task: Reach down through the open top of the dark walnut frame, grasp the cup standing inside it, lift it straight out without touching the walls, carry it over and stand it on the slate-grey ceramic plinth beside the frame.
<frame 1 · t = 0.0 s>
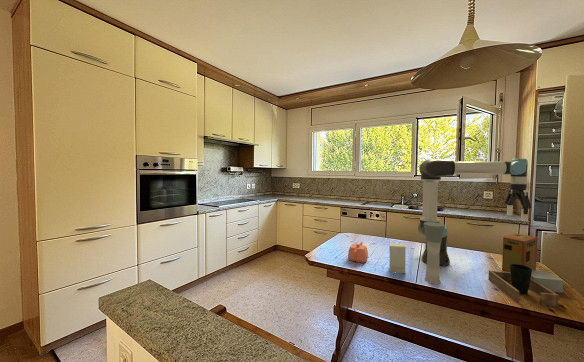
hand: (516, 217, 150), 28 cm above the table, fingers open, 13 cm apart
box: (518, 272, 136), on the table
container: (432, 280, 126), on the table
slate plinth: (539, 285, 120), on the table
walnut frame: (519, 291, 114), on the table
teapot: (358, 260, 155), on the table
cup: (519, 292, 114), resting in walnut frame
skincare box: (397, 271, 137), on the table
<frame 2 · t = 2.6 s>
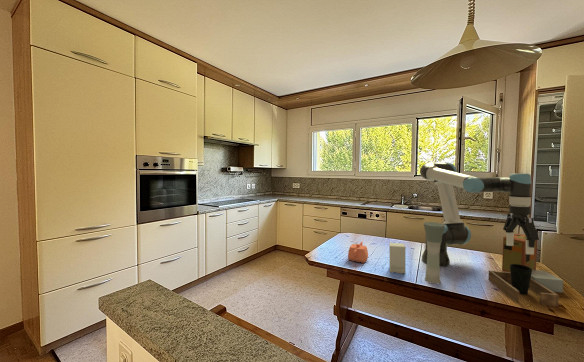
hand: (519, 249, 115), 20 cm above the table, fingers open, 13 cm apart
nothing on the table moved.
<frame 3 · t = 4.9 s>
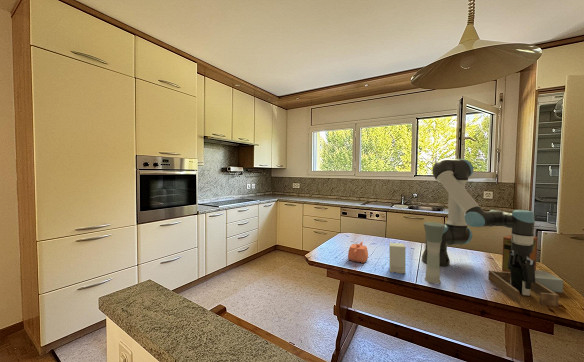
hand: (519, 290, 114), 1 cm above the table, fingers closed on cup, 8 cm apart
cup: (519, 292, 114), resting in walnut frame, touching gripper
everything else where it was.
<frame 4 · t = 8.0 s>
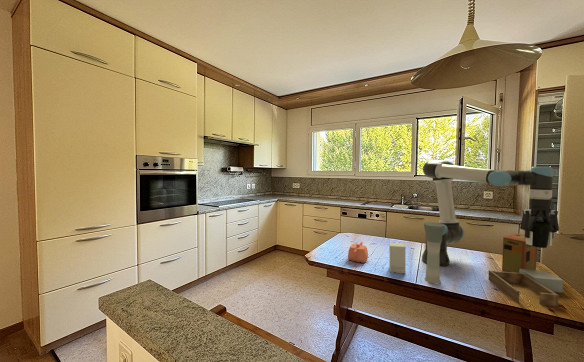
hand: (538, 244, 117), 21 cm above the table, fingers closed on cup, 8 cm apart
cup: (538, 246, 117), point 21 cm above the table, touching gripper
everything else where it was.
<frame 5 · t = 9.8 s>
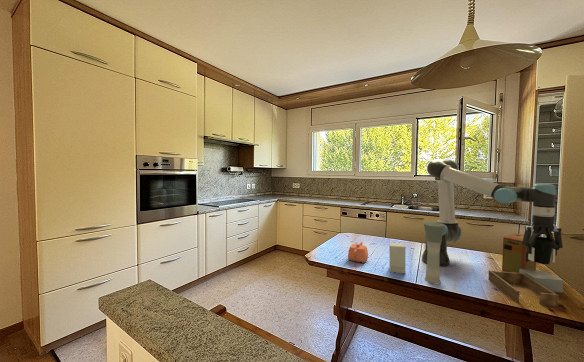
hand: (541, 260, 119), 13 cm above the table, fingers closed on cup, 8 cm apart
cup: (541, 262, 119), point 12 cm above the table, touching gripper
everything else where it was.
when the fingers open (8 cm above the table, at t = 11.2 s): cup stays where it is, resting on slate plinth.
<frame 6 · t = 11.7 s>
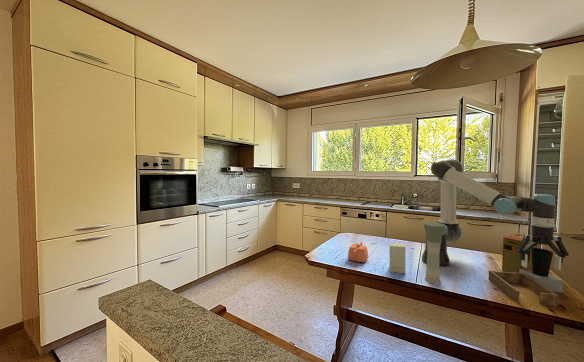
hand: (540, 267, 119), 9 cm above the table, fingers open, 13 cm apart
cup: (540, 274, 119), point 6 cm above the table, touching slate plinth
everything else where it was.
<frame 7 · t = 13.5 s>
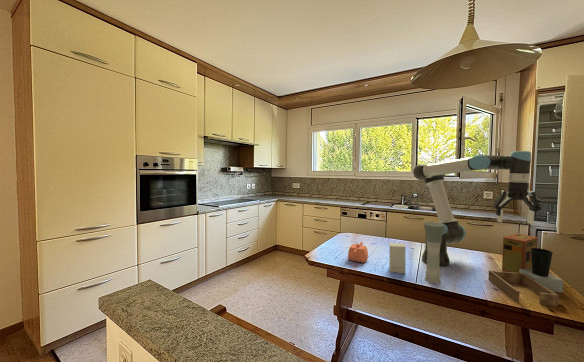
hand: (514, 222, 124), 31 cm above the table, fingers open, 13 cm apart
nothing on the table moved.
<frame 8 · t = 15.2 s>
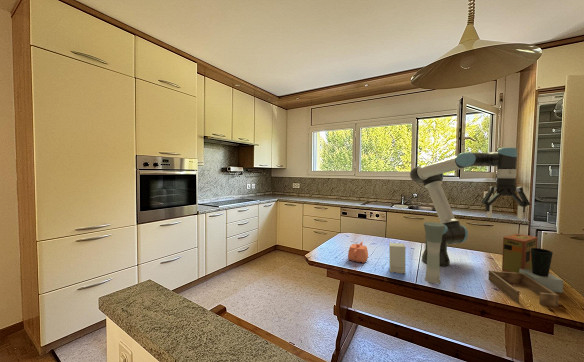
hand: (504, 218, 125), 33 cm above the table, fingers open, 13 cm apart
nothing on the table moved.
at the end: cup inside the target area on the slate plinth (0.0 cm from its centre), point 5.8 cm above the slate plinth's base; cup tilted 0°; the gripper is holding nothing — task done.
